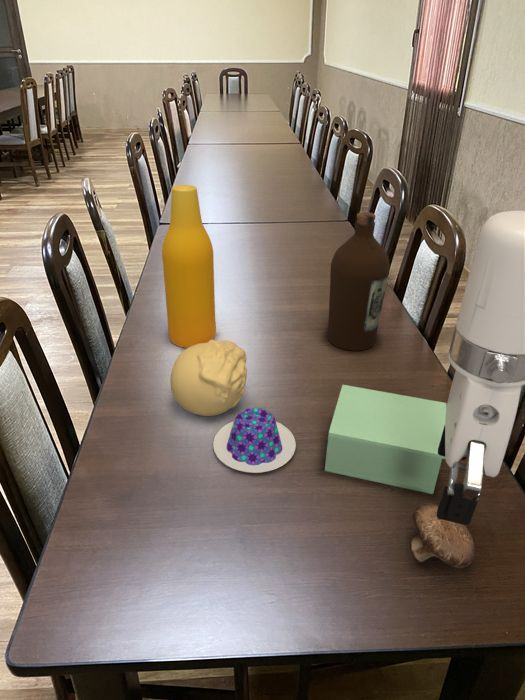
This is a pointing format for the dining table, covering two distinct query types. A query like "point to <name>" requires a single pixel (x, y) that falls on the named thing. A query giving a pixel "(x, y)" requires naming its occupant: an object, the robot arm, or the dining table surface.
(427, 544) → the mushroom
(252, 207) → the dining table surface
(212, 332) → the beer bottle
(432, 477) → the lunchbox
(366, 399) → the green flat panel
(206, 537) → the dining table surface
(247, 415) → the pudding
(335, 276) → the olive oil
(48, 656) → the dining table surface
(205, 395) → the sculpture
